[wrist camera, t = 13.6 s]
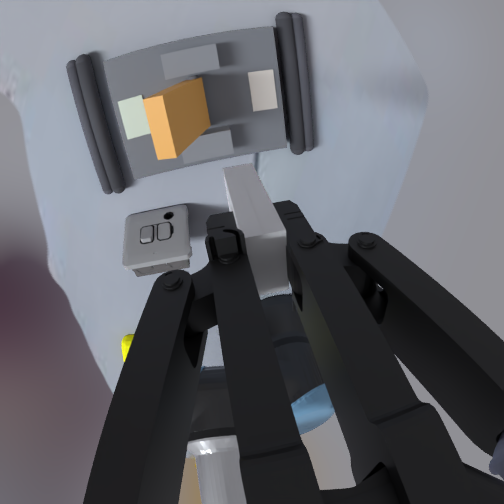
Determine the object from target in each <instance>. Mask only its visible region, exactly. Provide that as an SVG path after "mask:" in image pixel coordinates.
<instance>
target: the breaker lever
mask: <svg viewBox="0 0 504 504" xmlns="http://www.w3.org/2000/svg"><path fill="white" fill-rule="evenodd" d="M143 103H144V107H145V111H146V115H147V120H148V124H149V128H150V132H151V135H152V139H153V143H154V147H155V151H156V155H157V158H158V160H162V159H171V158H177V157H178V156H179V155H180V154H181V153H182V152H183V151H184V150H185V149H186V148H187V147H188V146H190V145H191V144H192V143H193V142H194V141H195V140H196V139H197V138H198V137H199V136H200V135H201V134H202V133H203V132H204V131H205V130H207V129H208V128H209V127H210V126H211V124H210V119H209V113H208V108H207V103H206V97H205V92H204V87H203V81H202V77H200V78H199V76H198V75H195V76H190V77H188V80H185V81H182V82H180V83H178V84H175V85H173V86H171V87H169V88H166V89H164V90H162V91H160V92H158V93H155V94H153V95H151V96H149V97H147V98H145V99H143Z"/></svg>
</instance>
